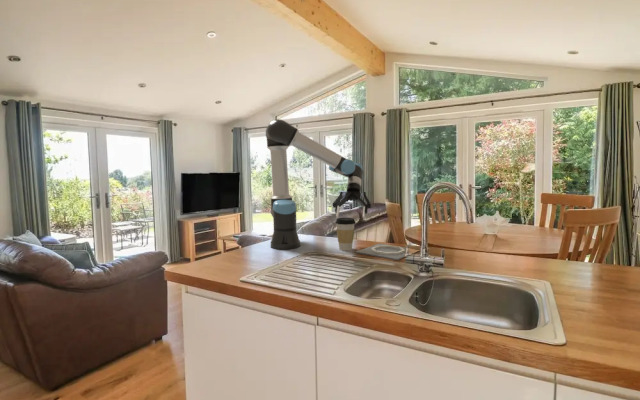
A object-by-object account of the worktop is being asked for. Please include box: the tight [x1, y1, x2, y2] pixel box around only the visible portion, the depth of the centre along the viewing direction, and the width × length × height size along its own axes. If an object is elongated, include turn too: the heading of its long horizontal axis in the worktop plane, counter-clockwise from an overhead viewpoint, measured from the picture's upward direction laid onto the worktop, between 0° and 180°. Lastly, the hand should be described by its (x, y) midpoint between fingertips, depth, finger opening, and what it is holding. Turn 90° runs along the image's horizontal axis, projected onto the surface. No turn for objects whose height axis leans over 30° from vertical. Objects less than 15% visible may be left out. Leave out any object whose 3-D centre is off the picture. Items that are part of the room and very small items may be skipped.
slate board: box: [355, 243, 407, 261], centre depth 166 cm, size 22×22×1 cm
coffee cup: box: [335, 217, 356, 252], centre depth 171 cm, size 10×10×15 cm
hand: (350, 217), depth 179 cm, fingers open, 13 cm apart
